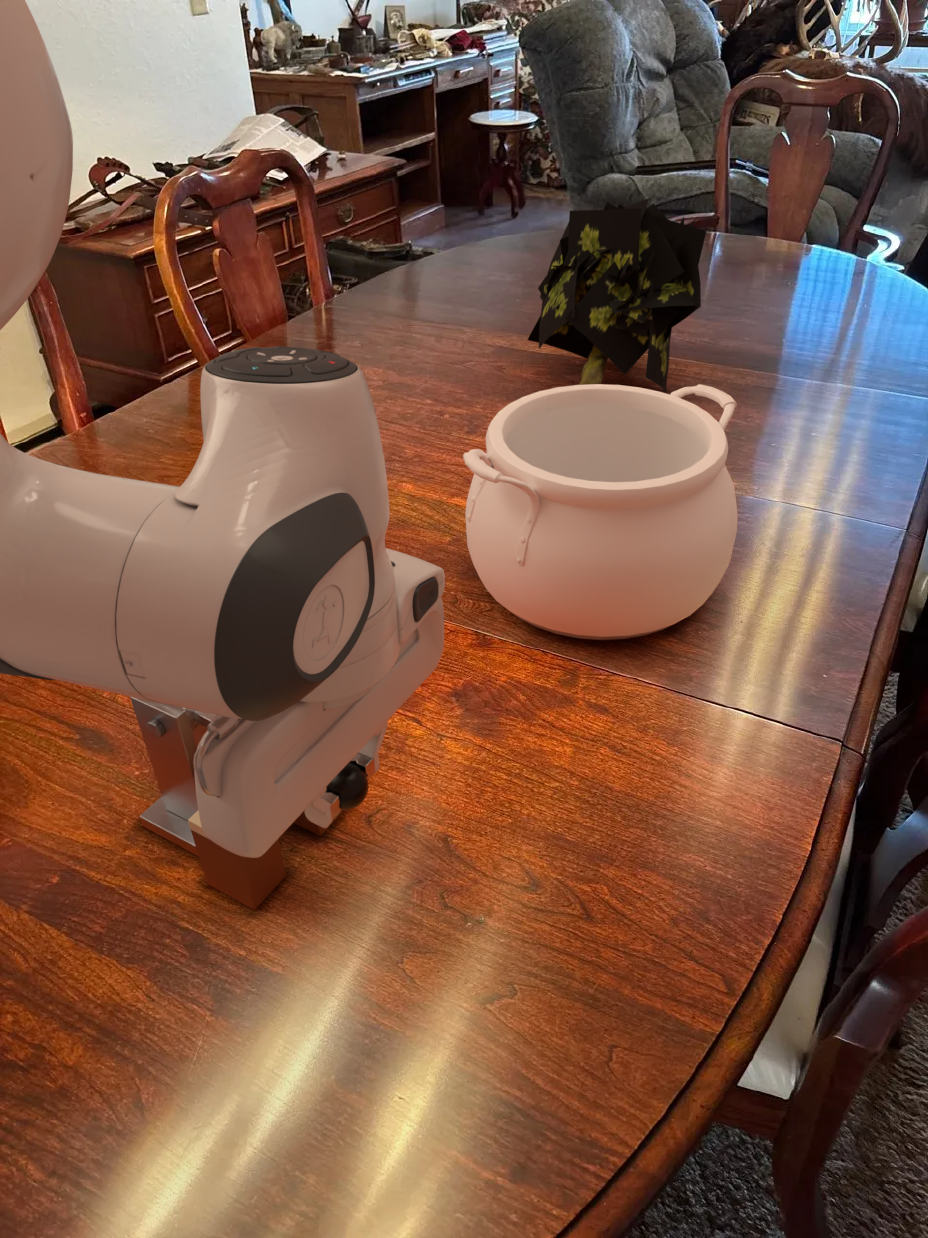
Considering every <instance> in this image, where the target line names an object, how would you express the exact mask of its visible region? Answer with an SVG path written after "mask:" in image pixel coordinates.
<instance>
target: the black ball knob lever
mask: <svg viewBox="0 0 928 1238" xmlns="http://www.w3.org/2000/svg"><path fill="white" fill-rule="evenodd" d="M184 709H186V708H184ZM186 710H187V714H188V717H189V721H190V725H191V728H192V732H193V731H194V730H195V729H196V728H197V727H198V726H200V725H202V726H204V727H206V728H207V726H208V725H209V723H210V722H211V720H212V719H213V718H214V717H215V716H216V715H214V714H209V713H204V712H199V711H195V710H190V709H186ZM369 785H370V784H369V781H368V779H367V776H366V774H365V773H364V771H363V770H362V769H361V768H359V767H358V766H356V765H354V764H350V763H348V764H347V765H346V766H345V767H344V768H343V769H342V770H341V771H340V772H339V774H338V775H337V776H336V777H335V778H334V779H333V780H332V781H331V782H330V783H329V784H328V785H327V786H326V789H327V790H326V793H329V792H331V793H333V794H335V795H337V796H339V800H340V805H339V807H340V808H341V810H344V811H348V810H353V809H355V808H357V807H358V806H360V805H361V804H362V803H363V802H365V799H366V797H367V795H368V793H369Z"/></svg>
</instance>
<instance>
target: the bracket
mask: <svg viewBox="0 0 928 1238" xmlns="http://www.w3.org/2000/svg"><path fill="white" fill-rule="evenodd" d="M129 699H130V703H131V705H132V708H133V711H134V714H135V717H136V721H137V724H138V727H139V729H140V733H141V736H142V739H143V742H144V745H145V748H146V751H147V755H148V757H149V758H148V759H149V761H150V764H151V767H152V770H153V773H154V777H155V779H156V783H157V785H158V789H159V792H160V795H161V796H160V797H159V798H157V800H155V802H153V803H152V804H151V805H150V806H149V807H148V808H147V809H146V810H144V811H143V813H141V814H140V815H139V819H140V823H141V825H142V827H143V828H145V829H147V830H148V831H151V832H153V833H154V834H156V835H158V836H160V837H161V838H164V839H165V840H167V841H170V842H171V843H173V844H174V845H177V846H178V847H180V848H181V849H184V850H186V851H188V852H189V853H191V854H193V855H195V856H197V857H198V858H199V856H198V852H197V849H196V846H195V842H194V839H193V836H192V833H191V829H190V826H189V823H188V819H189V818H190V817H191V816H193V815H194V814H195V813H196V812H197V811H198V804H197V797H196V787H195V772H194V763H193V761H194V755H195V753H196V751H197V747H198V745H199V743H200V740H201V739H202V737H203V736H204V734H205V733H206V732H207V728H206V727H204V726H202V725H200V726H198V727H197V728H196V729H195V730H194V731H193V732H192V728H191V725H190V721H189V717H188V714H187V710H186V709H184V708H181V707H177V706H172V705H168V704H164V703H156V702H152V701H147V700H143V699H138V698H134V697H129Z"/></svg>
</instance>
